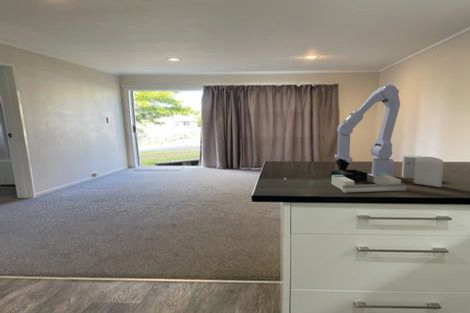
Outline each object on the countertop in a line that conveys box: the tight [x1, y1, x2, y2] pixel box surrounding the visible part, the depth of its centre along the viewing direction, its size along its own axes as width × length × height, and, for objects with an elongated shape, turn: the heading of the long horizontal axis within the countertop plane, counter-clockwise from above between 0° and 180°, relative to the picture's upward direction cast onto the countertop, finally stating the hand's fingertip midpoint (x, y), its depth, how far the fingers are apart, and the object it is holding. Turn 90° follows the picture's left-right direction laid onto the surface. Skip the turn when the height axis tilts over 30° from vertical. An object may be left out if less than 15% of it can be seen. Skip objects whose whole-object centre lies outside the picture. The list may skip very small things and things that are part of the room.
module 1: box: [331, 175, 355, 190], centre depth 114 cm, size 4×12×4 cm, turn 5°
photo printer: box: [413, 156, 444, 188], centre depth 116 cm, size 10×4×12 cm, turn 39°
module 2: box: [373, 173, 402, 184], centre depth 116 cm, size 4×12×4 cm, turn 5°
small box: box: [401, 155, 423, 180], centre depth 130 cm, size 8×6×10 cm
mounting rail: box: [341, 182, 407, 194], centre depth 108 cm, size 26×2×2 cm, turn 95°
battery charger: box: [330, 168, 368, 182], centre depth 129 cm, size 13×10×4 cm
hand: (342, 174), depth 135 cm, fingers closed
